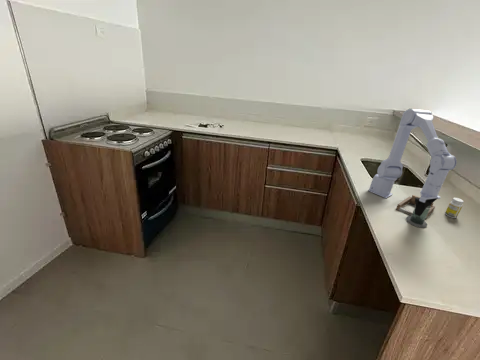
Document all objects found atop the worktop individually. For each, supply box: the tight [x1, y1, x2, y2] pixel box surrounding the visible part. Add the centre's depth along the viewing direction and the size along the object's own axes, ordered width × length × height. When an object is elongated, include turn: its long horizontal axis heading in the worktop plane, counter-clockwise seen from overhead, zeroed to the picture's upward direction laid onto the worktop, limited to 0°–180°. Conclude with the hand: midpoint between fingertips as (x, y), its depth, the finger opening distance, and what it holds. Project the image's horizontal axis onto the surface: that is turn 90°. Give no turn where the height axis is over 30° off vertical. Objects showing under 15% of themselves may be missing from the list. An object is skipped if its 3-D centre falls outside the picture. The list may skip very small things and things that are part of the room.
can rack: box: [395, 194, 436, 218], centre depth 128 cm, size 11×15×4 cm
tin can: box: [410, 205, 431, 225], centre depth 116 cm, size 5×5×8 cm
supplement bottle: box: [444, 197, 464, 219], centre depth 126 cm, size 5×5×8 cm
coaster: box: [405, 215, 428, 229], centre depth 118 cm, size 8×8×1 cm
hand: (420, 212), depth 116 cm, fingers open, 7 cm apart
